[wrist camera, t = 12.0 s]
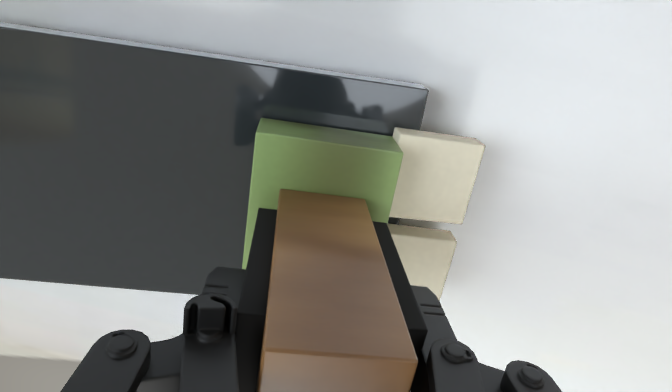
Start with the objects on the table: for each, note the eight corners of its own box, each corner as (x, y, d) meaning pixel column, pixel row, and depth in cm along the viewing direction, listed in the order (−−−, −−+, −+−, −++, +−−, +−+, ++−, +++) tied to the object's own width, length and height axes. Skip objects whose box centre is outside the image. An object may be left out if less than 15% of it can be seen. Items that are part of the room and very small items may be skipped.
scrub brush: (244, 271, 23) (193, 519, 12) (260, 117, 20) (213, 256, 9) (360, 283, 24) (413, 525, 13) (392, 136, 21) (496, 285, 10)
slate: (-129, 249, 23) (-156, 265, 22) (-198, -8, 18) (-239, -9, 17) (374, 294, 26) (378, 310, 25) (421, 83, 22) (429, 89, 20)
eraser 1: (377, 206, 22) (381, 216, 21) (394, 126, 21) (400, 133, 20) (453, 214, 23) (462, 225, 22) (476, 137, 21) (486, 145, 20)
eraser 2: (359, 288, 24) (361, 302, 23) (373, 221, 23) (377, 232, 22) (431, 295, 25) (437, 309, 24) (450, 230, 23) (458, 241, 22)
